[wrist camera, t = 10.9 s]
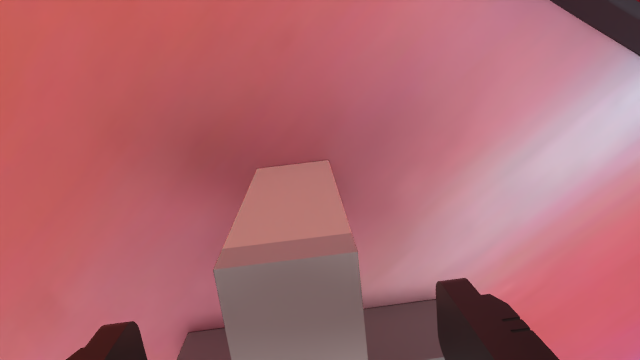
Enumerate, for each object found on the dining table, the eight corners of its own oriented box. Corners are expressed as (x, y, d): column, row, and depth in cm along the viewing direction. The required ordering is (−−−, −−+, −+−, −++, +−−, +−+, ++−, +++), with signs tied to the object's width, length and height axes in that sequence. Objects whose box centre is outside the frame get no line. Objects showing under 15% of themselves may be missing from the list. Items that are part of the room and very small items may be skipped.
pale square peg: (267, 234, 21) (237, 389, 11) (257, 168, 20) (212, 269, 10) (335, 226, 21) (368, 371, 11) (328, 159, 20) (357, 251, 10)
